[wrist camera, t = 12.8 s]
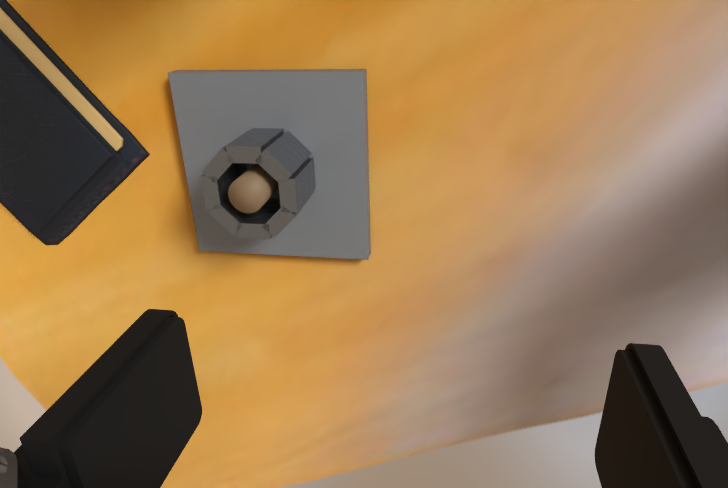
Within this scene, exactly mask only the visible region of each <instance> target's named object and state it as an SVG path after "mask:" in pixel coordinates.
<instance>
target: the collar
mask: <svg viewBox="0 0 728 488" xmlns="http://www.w3.org/2000/svg"><path fill="white" fill-rule="evenodd" d="M311 154H312V153H311V152H310V151H309V150H308V149H307V148H306V147H305V146H304V145H303V144H302V143H301V142H300V141H299V140H298V139H297V138H296V137H295V136H294V135H293V134H292V133H291V132H290V131H289V130H288V131H287V132H286V133H285V132H284V129H277V128H253V129H251V130H249V131H247V132H245V133H244V134H242V135H241V136H239V137H238V138H236V139H235V140H233V141H232V142H230V143H228V144H227V145H225V146H224V147H222V148H221V149H220V151H219V152H218V153H217V154H216V155H215V156H214V158H213V159H212V160H211V161H210V162H209V164H208V165H207V166H206V167H205V168H204V170H203V171H202V173H204V174H203V175H201V182H202V188H203V194H204V201H205V207H206V209H211V210H210V211H209V212H208V213H209V214H210V215H211V216H212V217H213V218H214V219H216V220H217V221H218V222H219V223H220V224H221V225H222V226H223V227H224V228H226V229H227V230H228V231H229V232H230V233H231V234H232V235H233V236H234V235H235V234H236V233H237V232H238V238H253V239H271V238H272V237H274V238H275V237H276V236H277V235H278V234H279V233H280V232H281V231H282V230H283V229H284V228H285V227H286V226H287V225H288V224H289V223H290V222H291V221H292V220H293V219H294V218H295V217H296V216H297V214H298V213H299V212H300V210H301V209H302V208H303V206H304V205H305V204H306V202H307V201H308V200H309V198H310V197H311V195H312V194H313V193H314V189H315V188H316V181H315V166H314V157H309V156H310V155H311ZM245 163H250V164H259V165H260V166H261V167H262V168H263V169H264V170H265V171H266V172H267V173H268V174H270V175H271V176H272V177H273V178H274V179H275V180H276V181H277V182H278V184H279V195H280V198H269V199H268V200H267V202H266V203H265V204H264V205H263V206H262V207H261V208H260V209H259V210H258V211H256V212H254V213H243V212H241V211H239V210H237V209H236V208H235V207H234V206H233V205H232V204H231V202H230V200H229V196H228V190H229V187H230V185H231V184H232V183H233V182H234V181H235V180H236V179H237V178H238V177H240V176H241V175H242V174H243V173H244V172H246V166H245Z"/></svg>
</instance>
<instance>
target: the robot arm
mask: <svg viewBox="0 0 728 488" xmlns="http://www.w3.org/2000/svg"><path fill="white" fill-rule="evenodd" d="M201 415H202V406H201V401H200V396H199V391H198V386H197V382H196V377H195V372H194V367H193V362H192V357H191V352H190V347H189V342H188V337H187V332H186V327H185V323H184V320H183V319H182V318H180V317H178V315H177V314H176V312H174V311H171V310H157V309H149V310H147V311H145V312H144V313H143V314H142V315H141V316H140V317H139V318H138V319H137V320H136V321H135V322H134V323H133V324H132V325H131V326H130V327H129V328H128V329H127V330H126V331H125V332H124V333H123V334H122V335H121V336H120V337H119V338H118V339H117V340H116V341H115V342H114V344H113V345H112V346H111V347H110V348H109V349H108V350H107V351H106V352H105V353H104V354H103V355H102V356H101V357H100V358H99V359H98V360H97V361H96V362H95V363H94V364H93V365H92V366H91V367H90V368H89V369H88V370H87V371H86V372H85V373H84V374H83V375H82V376H81V377H80V378H79V379H78V380H77V381H76V382H75V383H74V384H73V385H72V386H71V387H70V388H69V389H68V390H67V391H66V392H65V393H64V394H63V395H62V396H61V397H60V398H59V399H58V400H57V401H56V402H55V403H54V404H53V405H52V406H51V407H50V408H49V409H48V410H47V411H46V412H45V413H44V414H43V415H42V416H41V417H40V418H39V419H38V420H37V421H36V422H35V423H34V424H33V425H32V426H31V427H30V428H29V429H28V430H27V431H26V432H25V433H24V434H23V435H22V436H21V437H20V441H21V443H22V445H21V446H20V447H19V448H18V449H17V450H16V451H15V452H14V453H13V452H12V451H10V450H9V449H4V448H0V488H160V487H161V485H162V484H163V482H164V480H165V479H166V477H167V475H168V474H169V472H170V471H171V469H172V467H173V466H174V464H175V462H176V461H177V459H178V457H179V456H180V454H181V452H182V451H183V449H184V448H185V446H186V444H187V443H188V441H189V439H190V438H191V436H192V434H193V433H194V431H195V430H196V428H197V426H198V424H199V422H200V419H201ZM595 463H596V468H597V472H598V475H599V479H600V482H601V486H602V488H728V443H727V441H726V440H725V438H724V436H723V435H722V433H721V431H720V430H719V428H718V426H717V425H716V424H715V422H714V421H713V420H712V419H710V418H708V417H702V416H701V415H700V413H699V411H698V410H697V408H696V406H695V404H694V403H693V401H692V399H691V397H690V395H689V394H688V392H687V390H686V388H685V387H684V385H683V383H682V381H681V379H680V378H679V376H678V374H677V372H676V371H675V369H674V367H673V365H672V363H671V362H670V360H669V358H668V356H667V355H666V353H665V351H664V349H663V348H662V347H661V346H659V345H647V344H633V343H630V344H628V345H627V346H626V349H625V350H617V352H616V354H615V358H614V363H613V368H612V372H611V377H610V382H609V386H608V391H607V396H606V400H605V405H604V410H603V414H602V420H601V424H600V428H599V433H598V438H597V443H596V448H595Z"/></svg>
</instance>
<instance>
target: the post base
mask: <svg viewBox="0 0 728 488" xmlns="http://www.w3.org/2000/svg"><path fill="white" fill-rule="evenodd" d="M168 76H169V82H170V88H171V93H172V99H173V105H174V110H175V116H176V121H177V127H178V133H179V138H180V144H181V150H182V155H183V161H184V167H185V172H186V178H187V184H188V189H189V195H190V201H191V206H192V212H193V218H194V223H195V229H196V235H197V240H198V246H199V251H208V252H228V253H247V254H267V255H286V256H305V257H325V258H344V259H364V260H368V259H369V256H370V253H371V246H370V205H369V163H368V121H367V79H366V69H324V70H178V71H172V72H169V73H168ZM253 128H277V129H284V132H285V133H286V132H287V131H288V130H289V131H290V132H291V133H292V134H293V135H294V136H295V137H296V138H297V139H298V140H299V141H300V142H301V143H302V144H303V145H304V146H305V147H306V148H307V149H308V150H309V151H310V152H311V153H312V154H311V155H310V156H309V157H314V166H315V181H316V188H315V189H314V193H313V194H312V195H311V197H310V198H309V200H308V201H307V202H306V204H305V205H304V206H303V208H302V209H301V210H300V212H299V213H298V214H297V216H296V217H295V218H294V219H293V220H292V221H291V222H290V223H289V224H288V225H287V226H286V227H285V228H284V229H283V230H282V231H281V232H280V233H279V234H278V235H277V236H276V237H275V238H274V237H272V238H271V239H253V238H238V232H237V233H236V234H235V235H234V236H233V235H232V234H231V233H230V232H229V231H228V230H227V229H226V228H224V227H223V226H222V225H221V224H220V223H219V222H218V221H217V220H216V219H214V218H213V217H212V216H211V215H210V214H209V213H208V212H209V211H210V210H211V209H206V207H205V201H204V194H203V188H202V182H201V175H203V174H204V173H202V171H203V170H204V168H205V167H206V166H207V165H208V164H209V162H210V161H211V160H212V159H213V158H214V156H215V155H216V154H217V153H218V152H219V151H220V149H221V148H222V147H224V146H225V145H227V144H228V143H230V142H232V141H233V140H235V139H236V138H238V137H239V136H241V135H242V134H244V133H245V132H247V131H249V130H251V129H253ZM245 166H246V172H244V173H243V174H242V175H241V176H240V177H238V178H237V179H236V180H235V181H234V182H233V183H232V184H231V185H230V187H229V190H228V196H229V200H230V202H231V204H232V205H233V206H234V207H235V208H236V209H237V210H239V211H241V212H243V213H254V212H256V211H258V210H259V209H260V208H261V207H262V206H263V205H264V204H265V203H266V202H267V200H268V199H269V198H280V195H279V184H278V182H277V181H276V180H275V179H274V178H273V177H272V176H271V175H270V174H268V173H267V172H266V171H265V170H264V169H263V168H262V167H261V166H260V165H259V164H250V163H245Z"/></svg>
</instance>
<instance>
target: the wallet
mask: <svg viewBox="0 0 728 488" xmlns="http://www.w3.org/2000/svg"><path fill="white" fill-rule="evenodd" d="M149 155H150V154H149V153H148V152H147V151H146V149H145V148H144V147H143V146H142V145H141V144H140V143H139V141H138V140H137V139H136V138H135V137H134V136H133V134H132V133H131V132H130V131H129V130H128V129H127V128H126V127H125V126H124V125H123V124H122V123H121V122H120V121H119V120H118V119H117V118H116V117H115V116H114V115H113V114H112V113H111V112H110V111H109V110H108V109H107V108H106V107H105V106H104V105H103V104H102V103H101V102H100V100H99V99H98V98H97V97H96V96H95V95H94V94H93V93H92V92H91V91H90V90H89V89H88V88H87V87H86V85H85V84H84V83H83V82H82V81H81V80H80V79H79V78H78V77H77V76H76V75H75V74H74V73H73V72H72V70H71V69H70V68H69V67H68V66H67V65H66V64H65V63H64V62H63V61H62V60H61V59H60V58H59V56H58V55H57V54H56V53H55V52H54V51H53V50H52V49H51V48H50V47H49V46H48V45H47V44H46V43H45V41H44V40H43V39H42V38H41V37H40V36H39V35H38V34H37V33H36V32H35V31H34V30H33V29H32V28H31V26H30V25H29V24H28V23H27V22H26V21H25V20H24V19H23V18H22V17H21V16H20V15H19V14H18V13H17V11H16V10H15V9H14V8H13V7H12V6H11V5H10V4H9V3H8V2H7V1H6V0H0V202H1V203H2V204H3V205H4V206H5V207H6V208H7V209H8V210H9V211H10V212H11V213H12V214H13V215H14V216H15V217H16V218H17V219H18V220H19V221H20V222H21V223H22V224H23V225H24V226H25V227H26V228H27V229H28V230H29V231H30V232H31V233H32V234H33V235H35V236H36V237H37V238H38V239H39V240H41V241H42V242H43V243H44V244H46V245H58V244H59V243H60V242H62V241H63V240H64V239H65V238H66V237H67V236H69V235H70V234H71V233H72V232H73V231H74V230H75V229H76V228H77V226H78V225H79V224H80V223H81V222H82V221H83V220H84V219H85V218H86V217H87V216H88V215H89V214H90V213H91V212H92V211H93V210H94V209H95V208H96V207H97V206H98V205H99V204H100V203H101V202H102V201H103V200H104V199H105V198H106V197H107V196H108V195H109V194H110V193H111V192H112V191H113V190H115V189H116V188H117V187H118V186H119V185H120V184H121V183H122V182H123V181H124V180H125V179H126V178H127V177H128V176H129V175H130V174H131V173H132V172H133V171H134V170H135V169H136V168H137V166H138V165H139V164H141V163H142V162H143V161H144V160H145V159H146V158H147V157H148V156H149Z"/></svg>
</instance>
